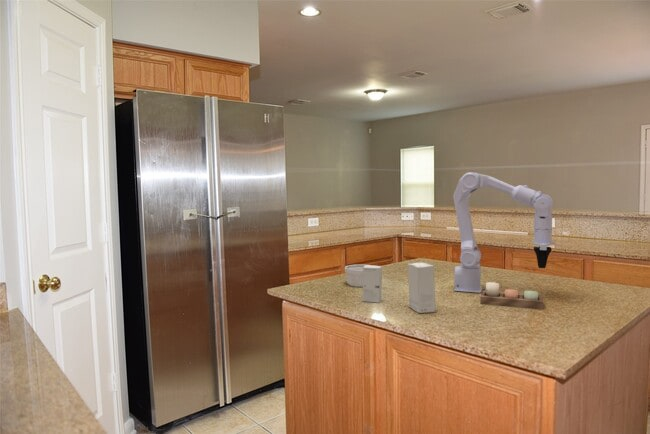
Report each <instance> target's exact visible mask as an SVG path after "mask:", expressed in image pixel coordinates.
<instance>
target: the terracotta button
mask: <svg viewBox="0 0 650 434" xmlns="http://www.w3.org/2000/svg"><path fill="white" fill-rule="evenodd" d="M504 292H505V297H507V298H518V293H519V290H518V289H514V288H513V289H512V288H507V289H504Z"/></svg>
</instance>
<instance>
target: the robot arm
mask: <svg viewBox="0 0 650 434" xmlns="http://www.w3.org/2000/svg"><path fill="white" fill-rule="evenodd" d="M462 175H463V176H461V177H460V178H459V179H458V183H457V186H456V189H455V190H454V193H453V202H454V207H455V208H454V209H455V213H456V220H457V224H458V225H457V226H458V230H459V235H460V236H459V237H460V242H461V243H460V244H461V245H460V256H459V261H460V262H459V263H461V264H460V265H456V266H454V283H453V284H454V285H453V286H454V289H453V291H454V292H465V293H478V294H482V291H483V287H482V285H481V283H482V281H481V280H482V277H481V276H482V275H481V274H482V271H481V270H482V265H481V264H480V261H481V259H482V252H481V251H480V249H479V248H478V243H477V241H476V238H475V232H474V227H473V221H472V216H471V211H470V205H469V198H470V197H471V195H472V194H473V193H474V192H475V191H477V190H479V188H489V187H490V188H492V189H495V190H497V191H500V192H503V193H505V194H508V195H510V196H511V197H512V200H513V201H515V202H519V203H521V204H523V205H525V206H527V207H534V216H533V239H532V244H533V245H535V246H534V247H533V248H532V249H533V251H534V253H535V257H536V261H537V266H538V268H539V269H546V266H547V263H548V258H549V255H550V253H551V252H552V247H551V246H552V245H556V241H553V240H552V239H553V238H552V237H553V236H552V235H553V234H552V233H553V215H552V214H553V210H552V208H553V205H554V201H553V199H552V197H551V196H550V195H548V194H546V193H542V191H541V190H538V191H537V190H536V189H532V188H529V186H528V185H526V184H524V185H522V184H519V185H517V186H514V185H511V184H509V183H507V182H505V181H502V180H500V179H497V178H495V177H493V176H491V175H487V174H481V173H479V172H472V171H471V172H466V173H464V174H462Z"/></svg>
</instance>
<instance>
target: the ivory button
mask: <svg viewBox="0 0 650 434" xmlns="http://www.w3.org/2000/svg"><path fill="white" fill-rule="evenodd" d="M485 291H486V295H487V296H495V297H497V296H499V292H500V283H498V282H495V281H494V282H493V281H491V282H490V281H489V282H485Z"/></svg>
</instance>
